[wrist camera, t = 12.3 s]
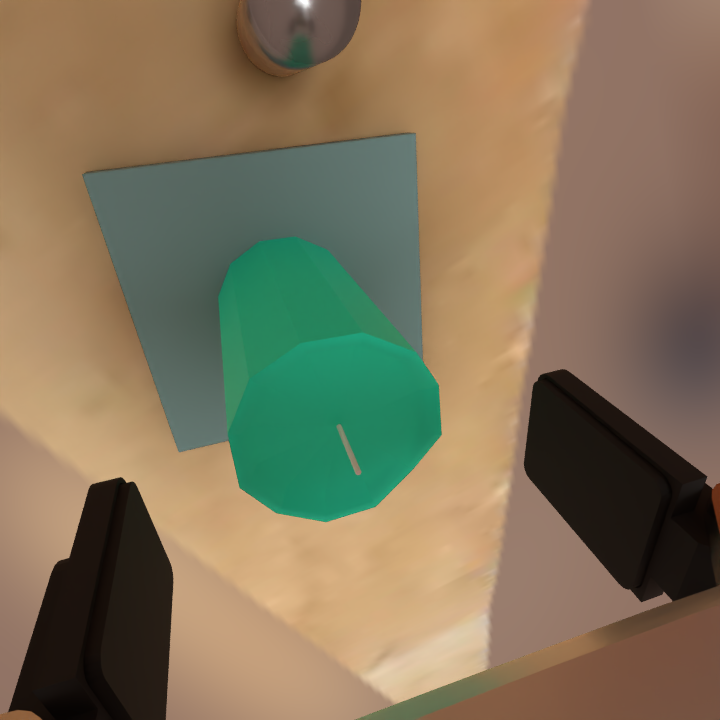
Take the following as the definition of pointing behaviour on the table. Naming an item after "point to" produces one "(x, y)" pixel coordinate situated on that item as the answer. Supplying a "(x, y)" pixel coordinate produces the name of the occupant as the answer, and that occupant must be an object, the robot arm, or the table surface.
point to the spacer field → (295, 32)
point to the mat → (241, 232)
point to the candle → (318, 385)
